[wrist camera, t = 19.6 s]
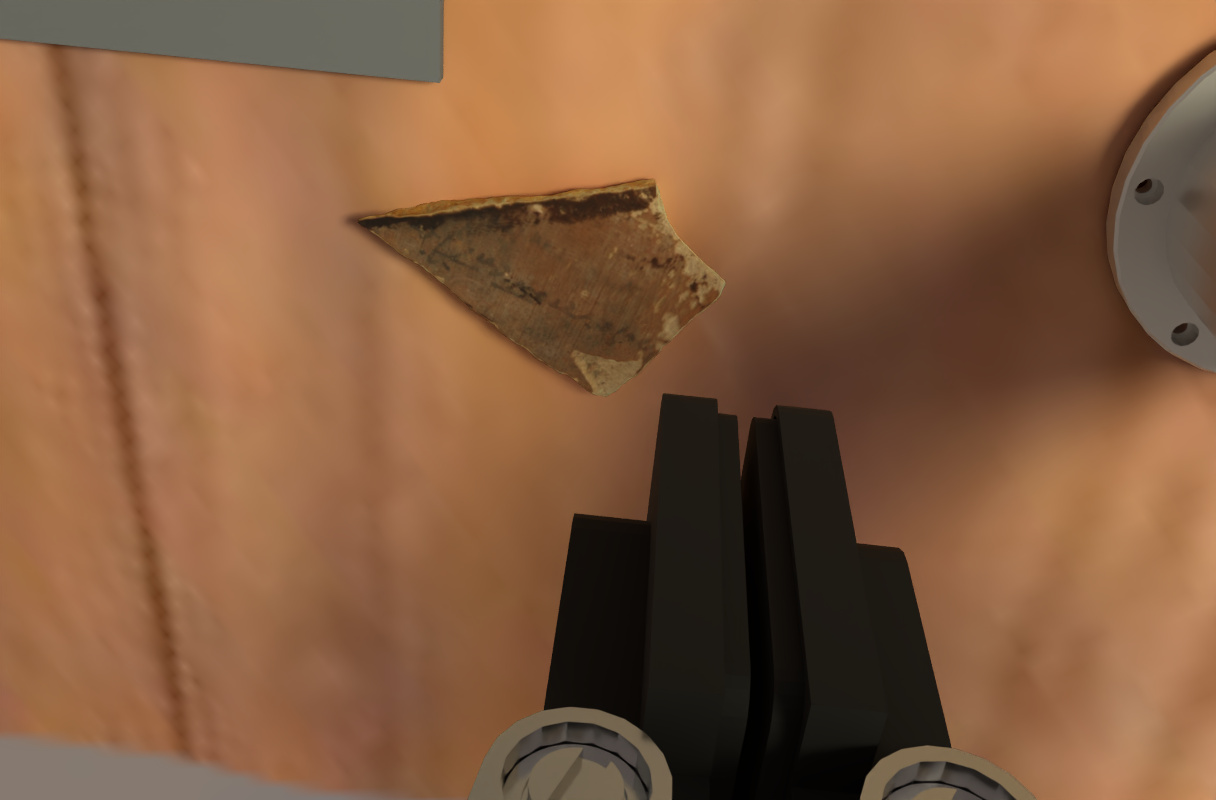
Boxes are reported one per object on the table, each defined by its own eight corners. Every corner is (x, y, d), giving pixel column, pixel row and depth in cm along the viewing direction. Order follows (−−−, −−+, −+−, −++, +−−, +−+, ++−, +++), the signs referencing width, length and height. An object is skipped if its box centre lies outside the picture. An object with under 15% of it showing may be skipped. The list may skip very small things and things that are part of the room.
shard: (366, 205, 40) (353, 225, 39) (501, 37, 37) (493, 52, 35) (604, 388, 43) (600, 414, 42) (747, 249, 40) (749, 271, 38)
